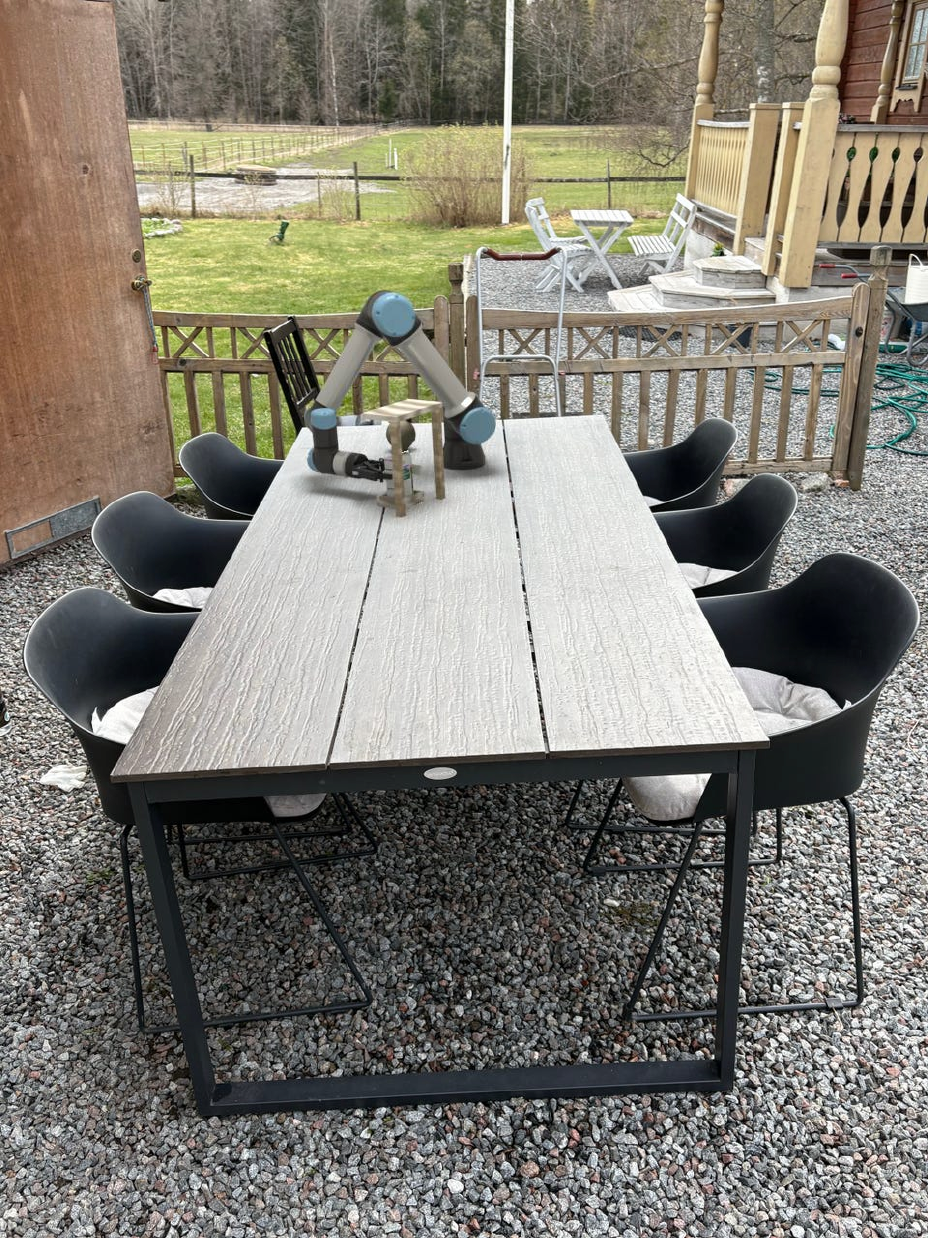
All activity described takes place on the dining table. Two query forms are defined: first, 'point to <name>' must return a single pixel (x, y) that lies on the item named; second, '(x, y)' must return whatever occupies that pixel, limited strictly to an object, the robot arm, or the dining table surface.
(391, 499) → the awning stand
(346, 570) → the dining table surface
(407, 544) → the dining table surface
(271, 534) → the dining table surface
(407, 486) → the syrup box
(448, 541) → the dining table surface
